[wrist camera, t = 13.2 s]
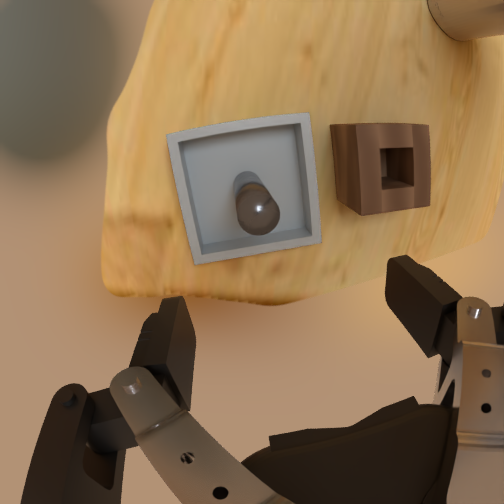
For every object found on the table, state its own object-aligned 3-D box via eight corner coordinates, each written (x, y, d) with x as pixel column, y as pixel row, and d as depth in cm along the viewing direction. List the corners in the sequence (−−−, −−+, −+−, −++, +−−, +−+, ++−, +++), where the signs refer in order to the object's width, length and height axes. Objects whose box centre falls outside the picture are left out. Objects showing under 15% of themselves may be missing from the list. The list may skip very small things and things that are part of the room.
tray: (299, 114, 30) (309, 112, 26) (311, 230, 35) (321, 242, 32) (173, 134, 29) (165, 134, 26) (197, 250, 35) (194, 265, 31)
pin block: (395, 122, 30) (428, 124, 24) (398, 191, 34) (429, 205, 28) (330, 124, 30) (355, 124, 24) (336, 199, 34) (361, 216, 27)
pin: (258, 169, 31) (277, 191, 20) (262, 195, 32) (282, 231, 21) (231, 173, 31) (233, 198, 20) (235, 200, 32) (240, 238, 21)
